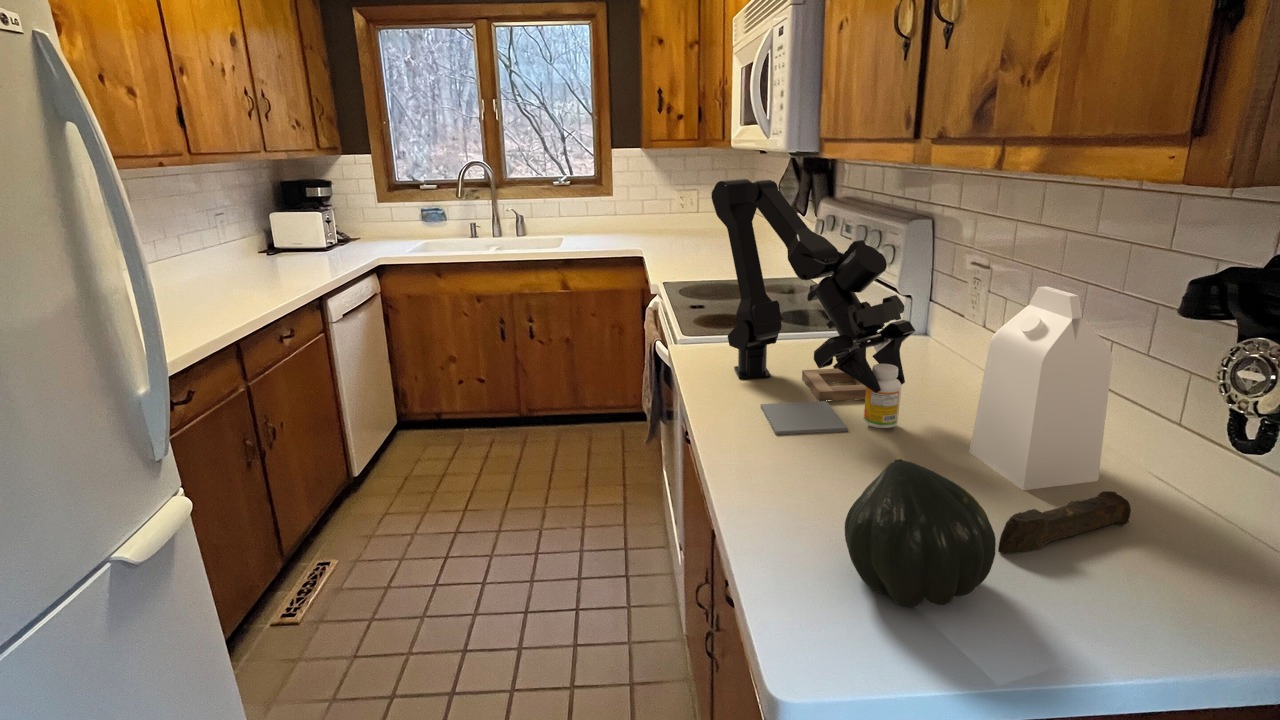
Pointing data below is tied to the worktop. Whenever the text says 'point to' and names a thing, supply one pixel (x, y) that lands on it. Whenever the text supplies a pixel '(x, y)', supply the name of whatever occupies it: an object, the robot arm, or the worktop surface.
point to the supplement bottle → (883, 398)
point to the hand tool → (1062, 522)
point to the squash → (919, 536)
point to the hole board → (824, 392)
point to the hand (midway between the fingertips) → (890, 387)
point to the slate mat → (803, 417)
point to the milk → (1044, 396)
